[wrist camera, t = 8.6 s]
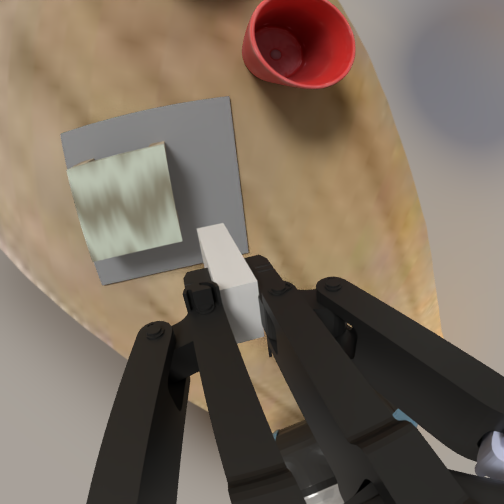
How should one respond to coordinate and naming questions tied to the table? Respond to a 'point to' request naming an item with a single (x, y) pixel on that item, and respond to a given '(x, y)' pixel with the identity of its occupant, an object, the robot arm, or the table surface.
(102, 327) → the table surface
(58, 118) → the table surface
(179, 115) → the mat
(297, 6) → the flower pot
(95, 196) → the stool
